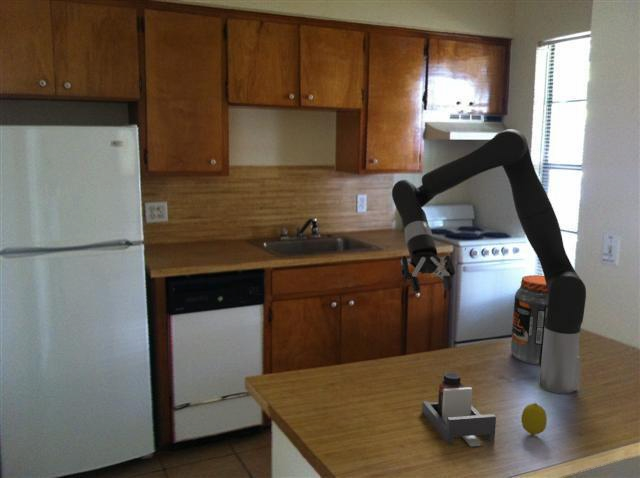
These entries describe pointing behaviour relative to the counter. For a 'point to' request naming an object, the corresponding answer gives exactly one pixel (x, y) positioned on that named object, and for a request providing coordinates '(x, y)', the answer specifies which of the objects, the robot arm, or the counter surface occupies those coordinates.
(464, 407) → the plate
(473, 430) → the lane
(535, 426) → the lemon
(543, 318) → the supplement tub
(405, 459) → the counter surface
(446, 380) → the supplement bottle
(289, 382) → the counter surface
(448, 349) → the counter surface
